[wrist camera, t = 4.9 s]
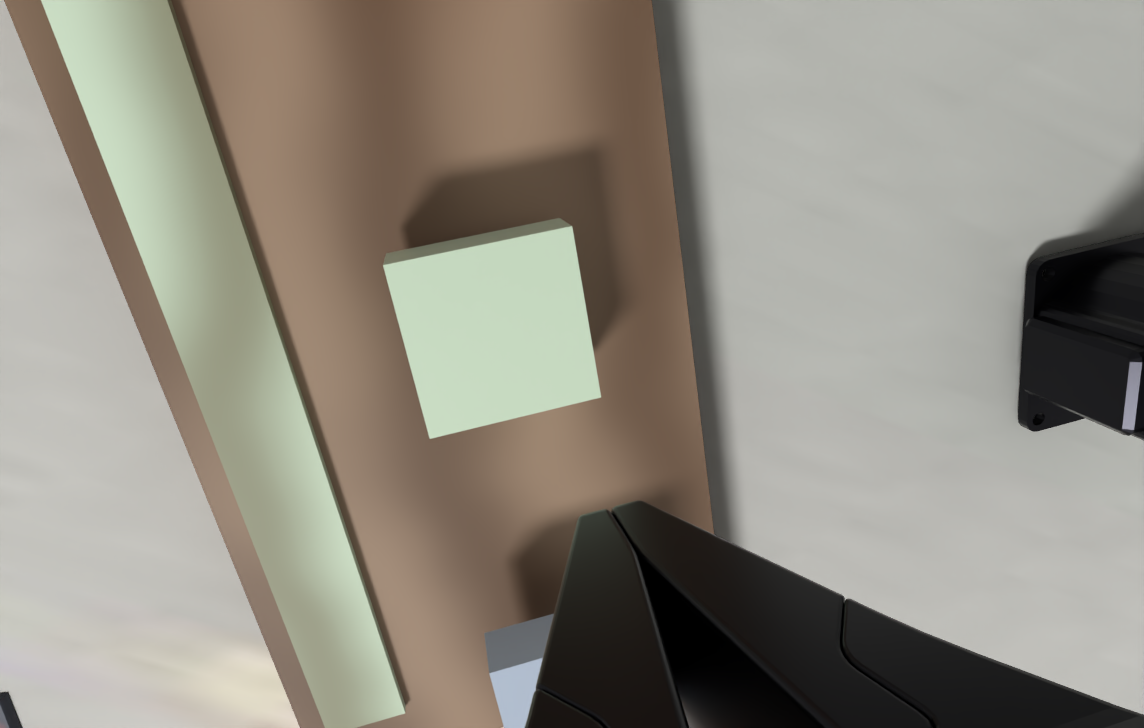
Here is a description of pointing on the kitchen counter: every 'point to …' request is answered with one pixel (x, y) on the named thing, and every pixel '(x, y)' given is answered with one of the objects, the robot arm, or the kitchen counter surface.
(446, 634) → the button panel
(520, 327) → the sage green button
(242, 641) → the kitchen counter surface
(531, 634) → the slate blue button
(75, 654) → the kitchen counter surface
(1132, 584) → the kitchen counter surface
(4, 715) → the wallet
